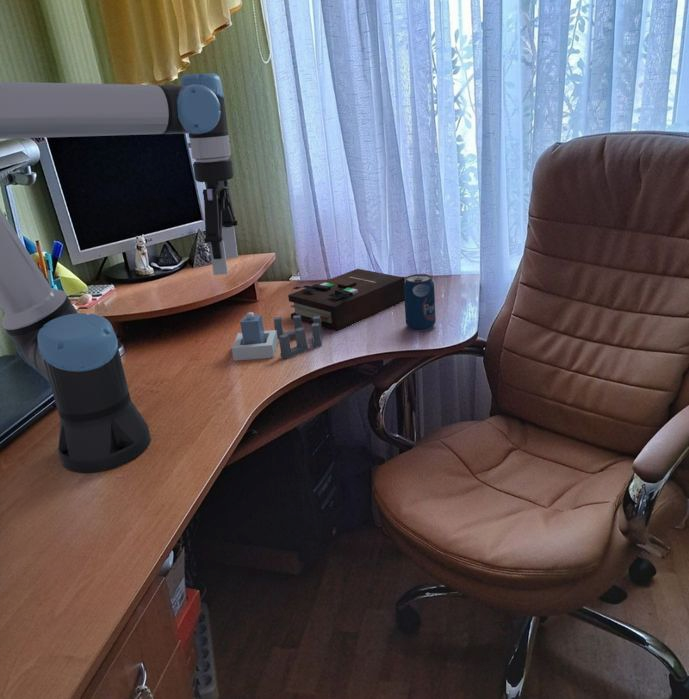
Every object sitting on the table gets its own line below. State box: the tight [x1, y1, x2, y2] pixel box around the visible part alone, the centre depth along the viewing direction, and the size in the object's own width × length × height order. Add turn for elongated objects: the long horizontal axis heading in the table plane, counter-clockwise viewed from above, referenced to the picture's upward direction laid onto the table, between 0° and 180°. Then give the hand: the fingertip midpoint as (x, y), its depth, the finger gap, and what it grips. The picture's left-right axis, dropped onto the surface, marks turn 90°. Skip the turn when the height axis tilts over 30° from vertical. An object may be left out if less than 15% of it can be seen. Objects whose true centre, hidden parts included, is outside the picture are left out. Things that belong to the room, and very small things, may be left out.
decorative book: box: [287, 268, 406, 332], centre depth 169 cm, size 19×8×30 cm
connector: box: [240, 311, 266, 345], centre depth 149 cm, size 4×4×9 cm
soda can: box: [404, 273, 437, 332], centre depth 153 cm, size 7×7×12 cm
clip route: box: [273, 315, 324, 360], centre depth 150 cm, size 11×14×5 cm
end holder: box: [230, 329, 279, 362], centre depth 150 cm, size 9×9×3 cm
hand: (226, 265), depth 137 cm, fingers open, 13 cm apart
